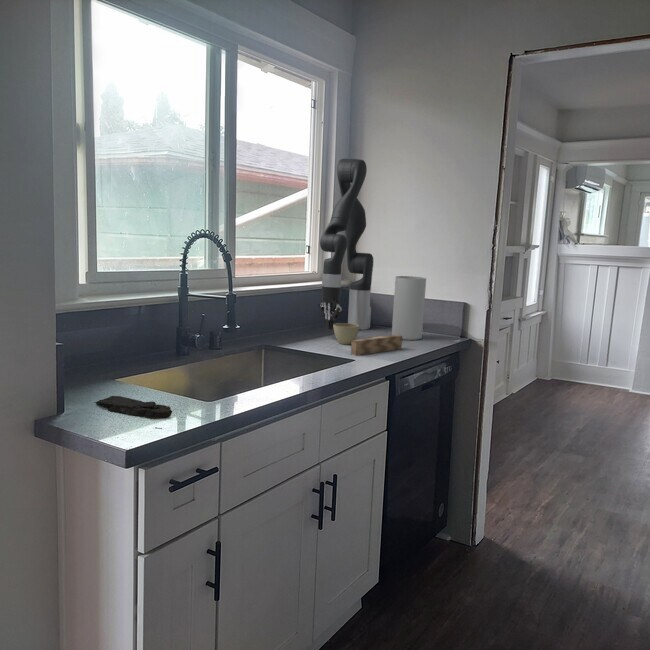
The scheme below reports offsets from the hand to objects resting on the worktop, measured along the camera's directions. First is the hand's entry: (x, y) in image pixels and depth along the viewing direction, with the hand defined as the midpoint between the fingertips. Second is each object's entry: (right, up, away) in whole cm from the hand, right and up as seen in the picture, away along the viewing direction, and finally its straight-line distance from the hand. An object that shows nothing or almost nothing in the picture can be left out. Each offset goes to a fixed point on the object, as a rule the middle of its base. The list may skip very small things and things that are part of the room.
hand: (329, 329), depth 246 cm
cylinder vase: (+32, -4, +12) cm, 35 cm away
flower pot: (+6, -6, -6) cm, 10 cm away
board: (+17, -8, -19) cm, 27 cm away
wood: (-47, -19, -100) cm, 112 cm away
